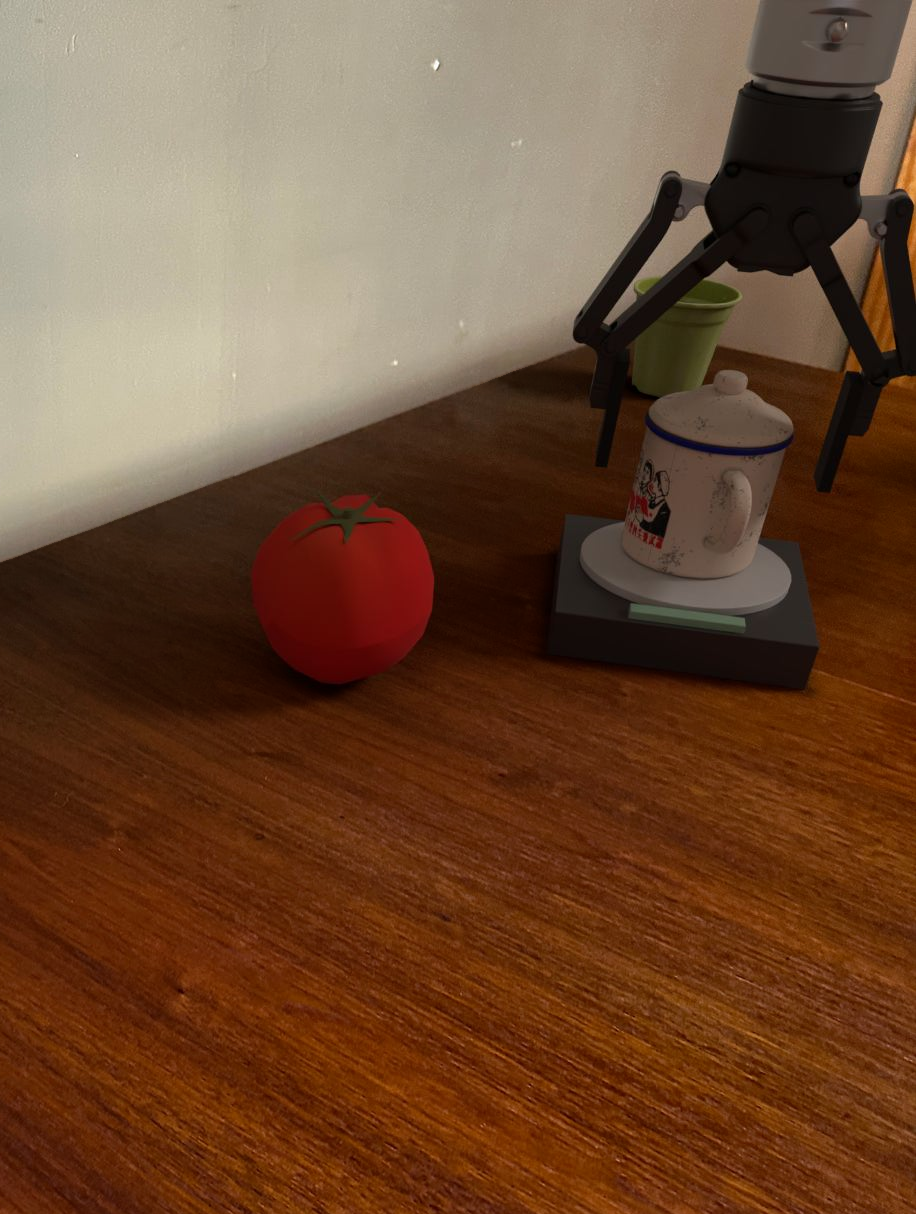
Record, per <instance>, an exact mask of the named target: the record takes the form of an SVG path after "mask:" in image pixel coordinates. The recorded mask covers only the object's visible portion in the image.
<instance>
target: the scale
mask: <svg viewBox="0 0 916 1214" xmlns="http://www.w3.org/2000/svg"><path fill="white" fill-rule="evenodd" d="M624 523H625V520H620V519H613V518H612V519H611V518H603V517H595V516H588V515H587V516H586V515H580V514H579V515H578V514H571V513H565V515H564V519H563V524H562V530H561V534H560V539H559V544H558V548H557V553H556V554H557V555H556V564H555V573H554V582H553V591H552V599H551V610H550V617H549V628H548V634H547V635H548V636H547V647H546V654H547V655H551V656H552V655H553V656H560V657H564V658H565V657H566V658H574V659H580V660H581V659H582V660H588V661H595V662H601V663H609V664H616V665H624V666H631V667H638V668H645V669H646V668H647V669H652V670H661V671H667V672H675V673H680V674H687V675H689V674H690V675H695V676H696V675H697V676H703V677H710V678H718V679H725V680H732V681H740V682H747V683H754V684H759V685H769V686H776V687H781V688H782V687H783V688H789V689H798V690H806V687H807V685H808V682H809V678H810V676H811V673H812V670H813V668H814V665H815V663H816V659H817V656H818V653H819V650H820V643H819V638H818V632H817V628H816V623H815V618H814V613H813V608H812V604H811V599H810V594H809V589H808V584H807V579H806V574H805V569H804V564H803V559H802V555H801V554H802V553H801V549H800V544H799V542H798V541H791V540H783V539H775V538H766V537H759V540H758V543H757V547H756V550H755V553H754V557H753V559H752V562H751V563H750V565H749V566H748V567H747V568H745V569H744V570H743V571H741V572H739V573H736V574H734V575H730V576H726V577H720V578H690V577H682V576H676V575H672V574H667V573H664V572H660V571H657V570H654V569H652V568H649V567H647V566H645V565H643V564H641V563H639V562H637V561H636V560H634V559H633V558H632V557H631V556H629V555H628V554H627V553H626V551H625V550H624V548H623V546H622V543H621V535H622V531H623V527H624Z"/></svg>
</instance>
